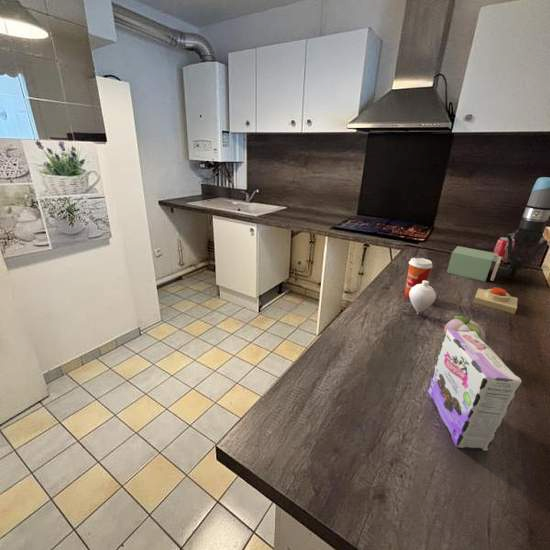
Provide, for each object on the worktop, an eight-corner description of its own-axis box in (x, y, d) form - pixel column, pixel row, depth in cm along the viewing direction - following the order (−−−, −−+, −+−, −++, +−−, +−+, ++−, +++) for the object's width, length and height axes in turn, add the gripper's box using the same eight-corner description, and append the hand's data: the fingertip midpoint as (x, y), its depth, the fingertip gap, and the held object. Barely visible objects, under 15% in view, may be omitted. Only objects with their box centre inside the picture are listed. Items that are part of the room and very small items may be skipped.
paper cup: (398, 291, 111) (406, 256, 105) (418, 291, 111) (427, 257, 105) (406, 300, 104) (415, 264, 98) (427, 301, 104) (437, 265, 98)
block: (515, 303, 105) (519, 293, 103) (514, 314, 97) (519, 303, 96) (476, 293, 112) (479, 283, 110) (473, 302, 104) (476, 292, 103)
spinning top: (431, 323, 91) (441, 288, 86) (405, 317, 93) (413, 284, 88) (428, 311, 97) (437, 278, 93) (404, 306, 100) (411, 274, 95)
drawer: (507, 275, 126) (513, 259, 123) (505, 284, 118) (512, 266, 115) (460, 265, 137) (465, 249, 134) (456, 272, 128) (461, 255, 125)
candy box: (425, 390, 65) (445, 327, 58) (453, 392, 64) (476, 330, 58) (455, 448, 52) (484, 376, 45) (489, 452, 52) (524, 380, 45)
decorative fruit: (487, 358, 76) (500, 325, 72) (462, 363, 73) (474, 330, 69) (456, 337, 84) (467, 307, 80) (434, 341, 82) (443, 310, 78)
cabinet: (488, 273, 131) (495, 253, 127) (485, 281, 122) (492, 260, 118) (451, 265, 139) (457, 246, 136) (446, 272, 130) (452, 252, 127)
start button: (505, 294, 103) (506, 289, 103) (504, 297, 100) (506, 293, 100) (491, 290, 106) (493, 286, 105) (490, 294, 103) (492, 289, 102)
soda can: (510, 262, 145) (518, 239, 140) (504, 265, 141) (513, 241, 137) (494, 258, 150) (502, 236, 146) (488, 260, 147) (496, 237, 142)
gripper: (512, 218, 112) (492, 274, 122) (557, 224, 105) (532, 283, 114) (513, 215, 118) (493, 269, 127) (555, 221, 110) (531, 277, 120)
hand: (512, 275), depth 121 cm, fingers closed
